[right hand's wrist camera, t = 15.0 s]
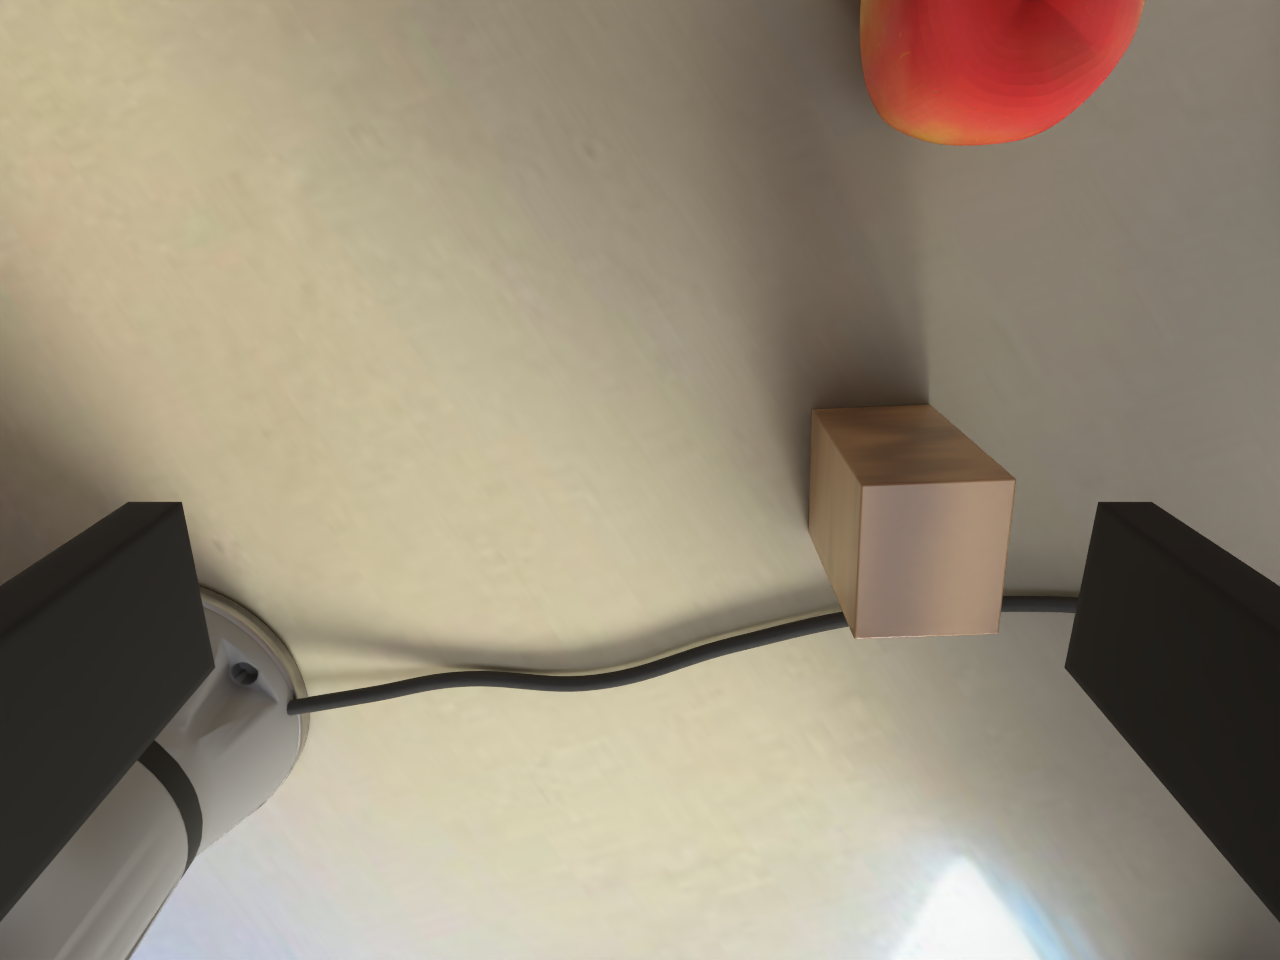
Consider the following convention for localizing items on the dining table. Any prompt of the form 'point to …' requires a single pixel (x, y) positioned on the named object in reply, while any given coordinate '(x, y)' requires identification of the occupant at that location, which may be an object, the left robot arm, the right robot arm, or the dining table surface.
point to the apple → (988, 63)
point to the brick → (908, 521)
